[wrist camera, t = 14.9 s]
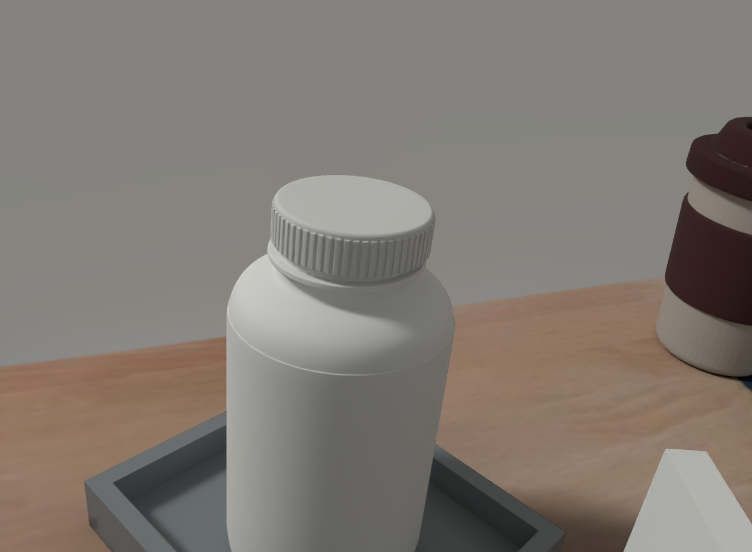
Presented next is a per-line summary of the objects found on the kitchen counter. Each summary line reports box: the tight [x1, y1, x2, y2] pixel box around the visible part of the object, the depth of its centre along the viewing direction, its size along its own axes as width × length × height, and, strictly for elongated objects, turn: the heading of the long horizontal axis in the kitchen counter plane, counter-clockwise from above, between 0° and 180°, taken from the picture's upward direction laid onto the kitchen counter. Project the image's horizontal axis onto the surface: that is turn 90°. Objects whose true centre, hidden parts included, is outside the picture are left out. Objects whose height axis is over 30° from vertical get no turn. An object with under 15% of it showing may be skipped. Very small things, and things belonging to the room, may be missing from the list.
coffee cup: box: [656, 117, 752, 377], centre depth 45 cm, size 10×10×15 cm
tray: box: [84, 411, 566, 552], centre depth 30 cm, size 15×13×2 cm
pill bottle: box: [227, 175, 455, 552], centre depth 27 cm, size 8×8×15 cm
